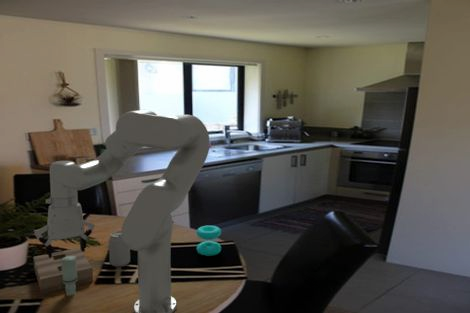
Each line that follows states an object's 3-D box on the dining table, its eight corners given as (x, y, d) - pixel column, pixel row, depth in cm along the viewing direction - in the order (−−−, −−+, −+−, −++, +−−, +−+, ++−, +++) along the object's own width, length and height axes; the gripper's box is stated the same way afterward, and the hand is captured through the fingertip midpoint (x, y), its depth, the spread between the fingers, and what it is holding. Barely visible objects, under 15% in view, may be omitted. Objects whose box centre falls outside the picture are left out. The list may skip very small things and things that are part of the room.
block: (93, 281, 133) (92, 267, 132) (41, 293, 124) (40, 279, 124) (80, 259, 150) (80, 247, 149) (34, 269, 141) (33, 256, 140)
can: (124, 268, 143) (123, 237, 141) (106, 266, 144) (104, 236, 142) (133, 260, 150) (132, 230, 148) (116, 258, 151) (114, 229, 149)
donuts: (193, 226, 160) (216, 223, 163) (193, 249, 161) (216, 245, 165) (200, 234, 150) (224, 231, 154) (200, 258, 152) (224, 254, 156)
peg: (79, 295, 124) (77, 259, 122) (64, 299, 122) (62, 263, 120) (76, 289, 128) (74, 254, 126) (62, 292, 125) (59, 257, 123)
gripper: (34, 208, 112) (37, 263, 115) (96, 200, 121) (97, 252, 124) (31, 201, 118) (34, 254, 121) (90, 194, 127) (92, 244, 130)
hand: (66, 253), depth 122 cm, fingers open, 9 cm apart
